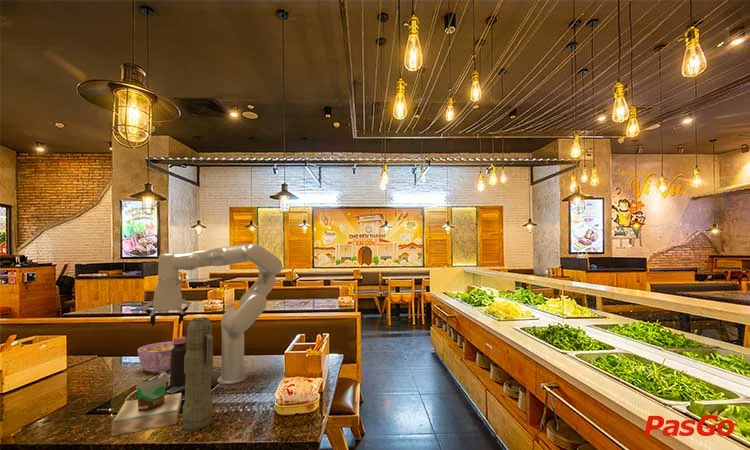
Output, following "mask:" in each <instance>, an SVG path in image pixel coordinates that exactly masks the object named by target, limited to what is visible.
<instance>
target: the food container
mask: <svg viewBox="0 0 750 450" xmlns="http://www.w3.org/2000/svg"><path fill="white" fill-rule="evenodd" d="M167 372H168V371H166V372H164V371H159V373H157V374H156V375H154V376H150V377H148V378H147V379H146V380H143V381H138V382H137V381H136V386H135V389H136V390H137V392H136V393H137V400H138V411H147V410H152V409H155V408H158V407H160V406H162V405H163V404H164V397H165V395H166V389H167V388H166V387H167V382H168V381H170V377H169V374H168V373H167Z"/></svg>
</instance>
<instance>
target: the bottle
mask: <svg viewBox="0 0 750 450" xmlns="http://www.w3.org/2000/svg"><path fill="white" fill-rule="evenodd" d="M173 342H174V343H173V344H174V348H173V349H172V350H171V361H170V370H169V385H170V386H171V387H181V386H185V378H186V375H185V373H184V357H185V354H186V336H177V337H174V338H173Z"/></svg>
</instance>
